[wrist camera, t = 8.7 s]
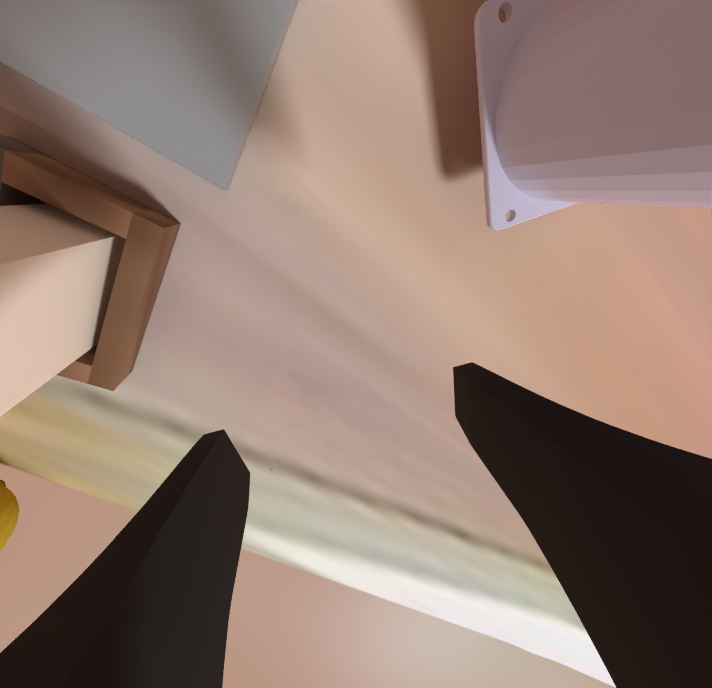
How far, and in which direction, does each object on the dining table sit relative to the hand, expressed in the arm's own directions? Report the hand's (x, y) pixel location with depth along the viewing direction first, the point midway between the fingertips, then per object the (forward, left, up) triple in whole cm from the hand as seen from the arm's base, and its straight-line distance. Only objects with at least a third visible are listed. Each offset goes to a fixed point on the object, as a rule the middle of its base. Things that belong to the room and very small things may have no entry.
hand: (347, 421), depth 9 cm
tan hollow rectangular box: (+11, -6, -10) cm, 16 cm away
